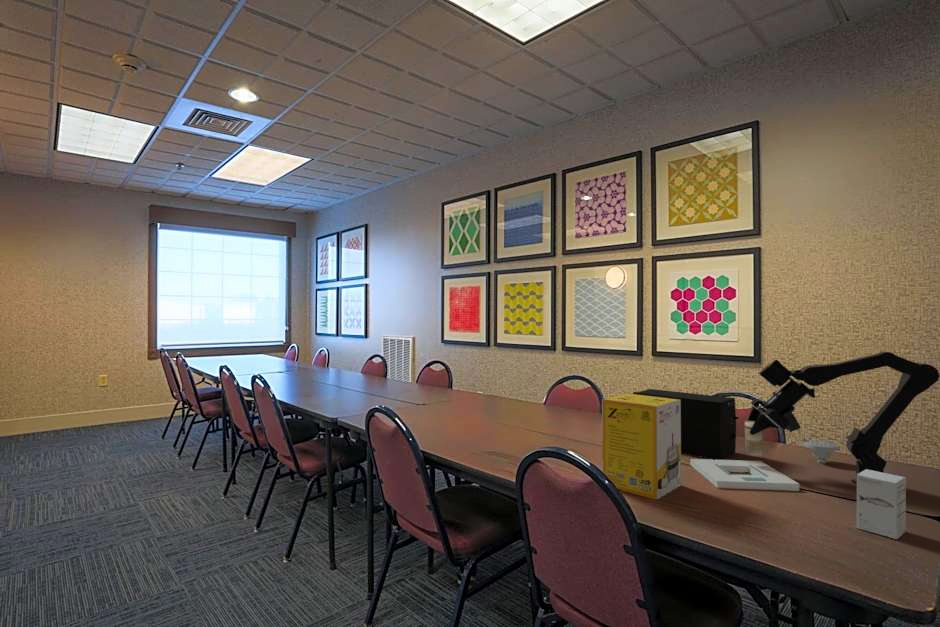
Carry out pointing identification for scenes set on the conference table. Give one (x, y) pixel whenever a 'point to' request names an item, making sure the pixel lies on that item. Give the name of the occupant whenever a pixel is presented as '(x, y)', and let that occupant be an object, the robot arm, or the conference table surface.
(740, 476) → the hole plate
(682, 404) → the uninterruptible power supply
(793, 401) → the robot arm
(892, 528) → the supplement box
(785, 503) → the conference table surface
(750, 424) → the beech peg
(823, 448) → the showerhead
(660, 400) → the packaging box
